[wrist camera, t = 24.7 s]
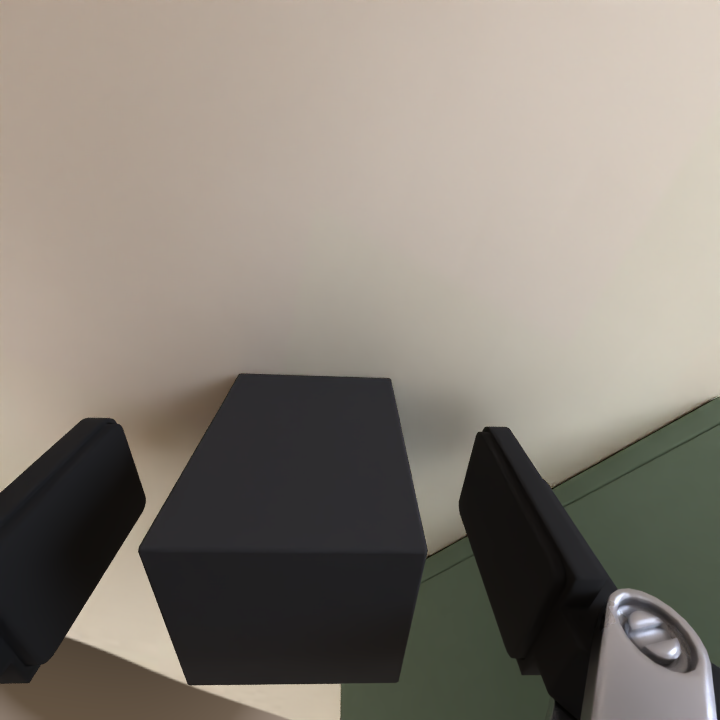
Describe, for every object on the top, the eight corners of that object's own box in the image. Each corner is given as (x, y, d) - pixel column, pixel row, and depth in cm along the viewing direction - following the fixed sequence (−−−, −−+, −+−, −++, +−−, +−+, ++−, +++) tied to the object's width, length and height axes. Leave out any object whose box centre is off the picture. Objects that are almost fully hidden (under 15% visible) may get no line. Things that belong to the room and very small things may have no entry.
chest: (502, 698, 21) (573, 934, 14) (341, 605, 16) (336, 902, 9) (810, 582, 16) (1128, 855, 9) (720, 394, 11) (1261, 700, 4)
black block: (252, 484, 12) (186, 687, 7) (239, 372, 10) (135, 549, 5) (379, 486, 12) (399, 684, 7) (391, 377, 10) (429, 552, 5)
